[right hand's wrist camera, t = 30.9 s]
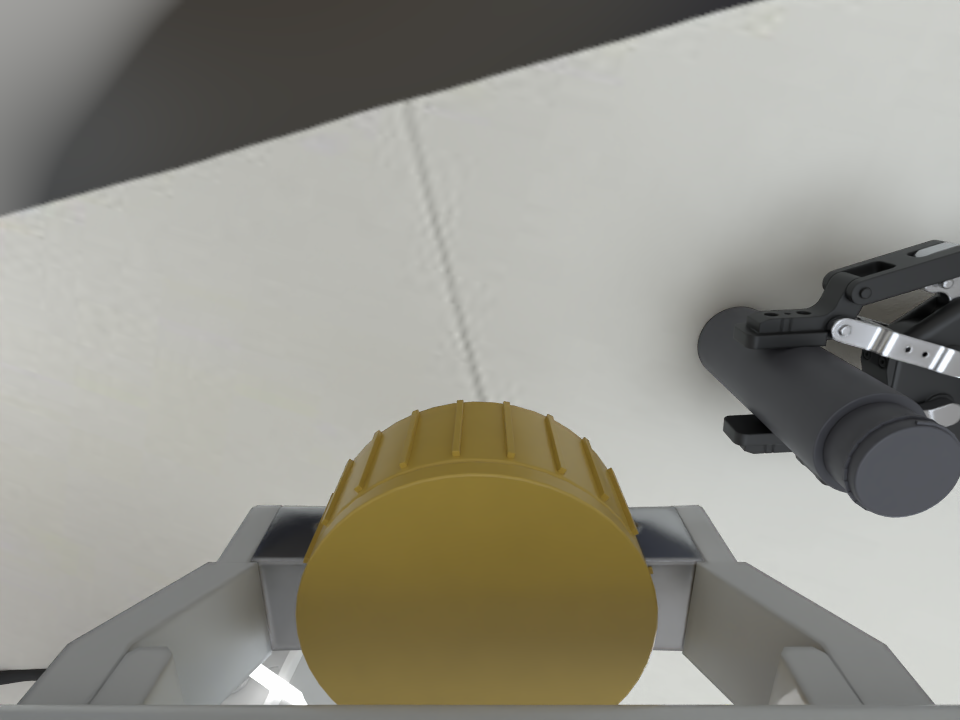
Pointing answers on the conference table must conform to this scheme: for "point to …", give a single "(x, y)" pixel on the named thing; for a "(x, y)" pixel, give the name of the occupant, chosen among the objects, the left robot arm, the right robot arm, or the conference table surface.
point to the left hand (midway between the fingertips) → (735, 385)
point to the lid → (476, 568)
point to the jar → (838, 420)
